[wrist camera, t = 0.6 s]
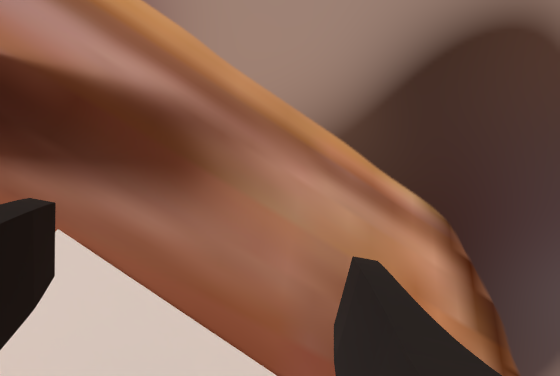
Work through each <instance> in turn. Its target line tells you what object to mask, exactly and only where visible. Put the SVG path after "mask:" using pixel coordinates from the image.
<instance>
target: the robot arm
mask: <svg viewBox="0 0 560 376" xmlns="http://www.w3.org/2000/svg"><path fill="white" fill-rule="evenodd" d="M54 276H55V203H54V202H48V201H43V200H37V199H32V198H28V199H21V200H17V201H13V202H9V203H5V204H1V205H0V350H1V349H2V348H3V346H4V345H5V344H6V343H7V342H8V341H9V339H10V338H11V337H12V336H13V335H14V333H15V332H16V331H17V330H18V329H19V327H20V326H21V325H22V324H23V323H24V321H25V320H26V319H27V318H28V317H29V315H30V314H31V313H32V312H33V310H34V309H35V307H36V306H37V304H38V303H39V301H40V300H41V298H42V297H43V295H44V293H45V292H46V290H47V288H48V287H49V285H50V283H51V281H52V280H53V278H54ZM334 365H335V373H336V376H502V375H500V374H499V373H498V372H496V371H495V370H493V369H492V368H491V367H489V366H488V365H487V364H485V363H484V362H483V361H481V360H480V359H479V358H478V357H476V356H475V355H474V354H473V353H471V352H470V351H469V350H468V349H466V348H465V347H464V346H463V345H461V344H460V343H459V342H458V341H457V340H456V339H454V338H453V337H452V336H451V335H450V334H449V333H448V332H447V331H446V330H444V329H443V328H442V327H441V326H440V325H439V324H438V323H437V322H436V321H435V320H434V319H433V318H432V317H431V316H430V315H429V314H428V313H427V312H426V311H425V310H424V309H423V308H422V307H421V306H420V305H419V304H418V303H417V302H416V301H415V300H414V299H413V298H412V297H411V296H410V295H409V294H408V293H407V291H406V290H405V289H404V288H403V287H402V286H401V285H400V284H399V283H398V282H397V281H396V279H395V278H394V277H393V276H392V275H391V274H390V273H389V272H388V271H387V270H386V269H385V268H384V267H383V266H382V265H381V264H380V263H379V262H378V261H375V260H369V259H364V258H358V257H353V258H352V261H351V265H350V269H349V272H348V276H347V280H346V283H345V287H344V291H343V294H342V298H341V302H340V305H339V309H338V313H337V316H336V320H335V324H334Z"/></svg>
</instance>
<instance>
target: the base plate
mask: <svg viewBox="0 0 560 376" xmlns="http://www.w3.org/2000/svg"><path fill="white" fill-rule="evenodd" d="M0 376H276V375H275V374H273V373H272V372H270V371H269V370H267V369H266V368H264V367H263V366H262V365H260V364H259V363H257V362H256V361H254V360H253V359H251V358H250V357H248V356H247V355H245V354H244V353H242V352H241V351H239V350H238V349H236V348H235V347H233V346H232V345H230V344H229V343H227V342H226V341H224V340H223V339H221V338H220V337H218V336H217V335H215V334H214V333H212V332H211V331H209V330H208V329H206V328H205V327H203V326H202V325H200V324H199V323H197V322H196V321H194V320H193V319H191V318H190V317H188V316H187V315H185V314H184V313H182V312H181V311H179V310H178V309H176V308H175V307H173V306H172V305H170V304H169V303H167V302H166V301H164V300H163V299H161V298H160V297H159V296H157V295H156V294H154V293H153V292H151V291H150V290H148V289H147V288H145V287H144V286H142V285H141V284H139V283H138V282H136V281H135V280H133V279H132V278H130V277H129V276H127V275H126V274H124V273H123V272H121V271H120V270H118V269H117V268H115V267H114V266H112V265H111V264H109V263H108V262H106V261H105V260H103V259H102V258H100V257H99V256H97V255H96V254H94V253H93V252H91V251H90V250H88V249H87V248H85V247H84V246H82V245H81V244H79V243H78V242H76V241H75V240H73V239H72V238H70V237H69V236H67V235H66V234H64V233H63V232H61V231H60V230H59V229H58V230H57V231H56V232H55V276H54V278H53V280H52V281H51V283H50V285H49V287H48V288H47V290H46V292H45V293H44V295H43V297H42V298H41V300H40V301H39V303H38V304H37V306H36V307H35V309H34V310H33V312H32V313H31V314H30V315H29V317H28V318H27V319H26V320H25V321H24V323H23V324H22V325H21V326H20V327H19V329H18V330H17V331H16V332H15V333H14V335H13V336H12V337H11V338H10V339H9V341H8V342H7V343H6V344H5V345H4V346H3V348H2V349H1V350H0Z"/></svg>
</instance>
